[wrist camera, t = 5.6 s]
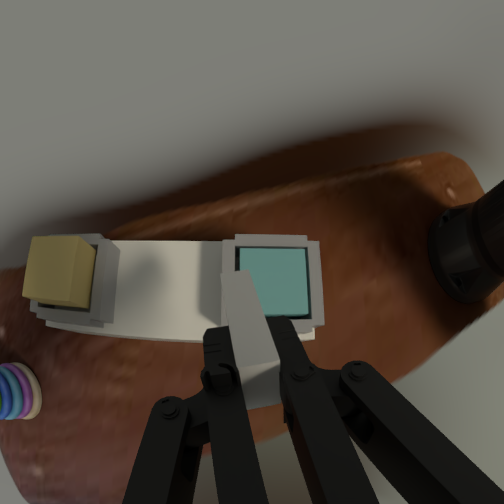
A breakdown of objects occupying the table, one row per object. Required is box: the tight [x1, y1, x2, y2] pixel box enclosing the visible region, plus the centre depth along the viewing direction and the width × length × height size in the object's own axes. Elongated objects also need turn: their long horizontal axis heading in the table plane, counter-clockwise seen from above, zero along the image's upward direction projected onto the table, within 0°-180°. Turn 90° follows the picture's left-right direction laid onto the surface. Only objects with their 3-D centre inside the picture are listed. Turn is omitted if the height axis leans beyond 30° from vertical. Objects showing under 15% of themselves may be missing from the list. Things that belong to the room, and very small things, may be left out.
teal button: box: [239, 248, 308, 319], centre depth 24 cm, size 5×5×4 cm
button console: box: [30, 234, 324, 343], centre depth 28 cm, size 26×9×11 cm, turn 91°
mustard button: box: [22, 236, 96, 309], centre depth 21 cm, size 5×5×4 cm
